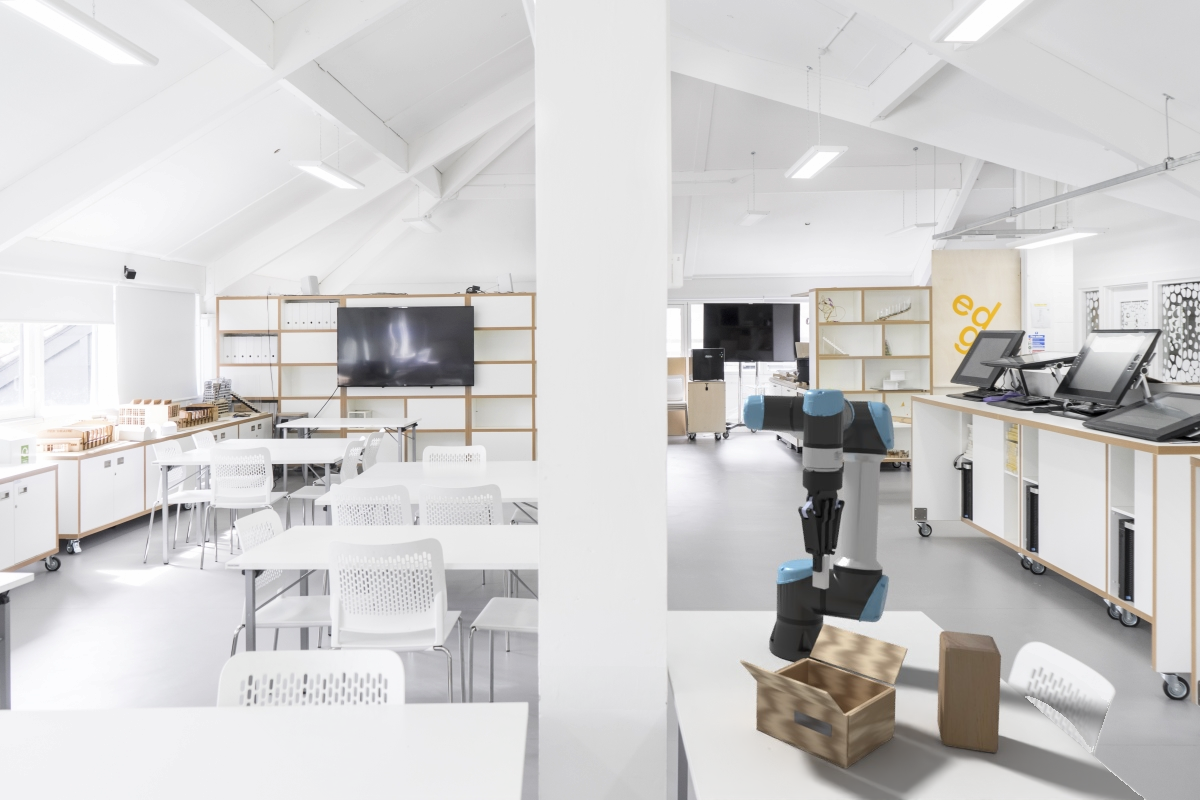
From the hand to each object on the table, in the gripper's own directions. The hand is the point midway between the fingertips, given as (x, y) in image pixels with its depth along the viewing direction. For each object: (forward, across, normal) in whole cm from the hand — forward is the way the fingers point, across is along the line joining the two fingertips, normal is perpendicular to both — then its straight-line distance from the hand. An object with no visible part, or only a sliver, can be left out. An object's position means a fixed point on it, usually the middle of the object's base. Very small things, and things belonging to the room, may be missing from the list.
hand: (820, 586), depth 152 cm
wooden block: (+31, +21, -20) cm, 42 cm away
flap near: (+20, -7, 0) cm, 21 cm away
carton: (+30, +2, 0) cm, 30 cm away
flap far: (+20, +11, 0) cm, 23 cm away
